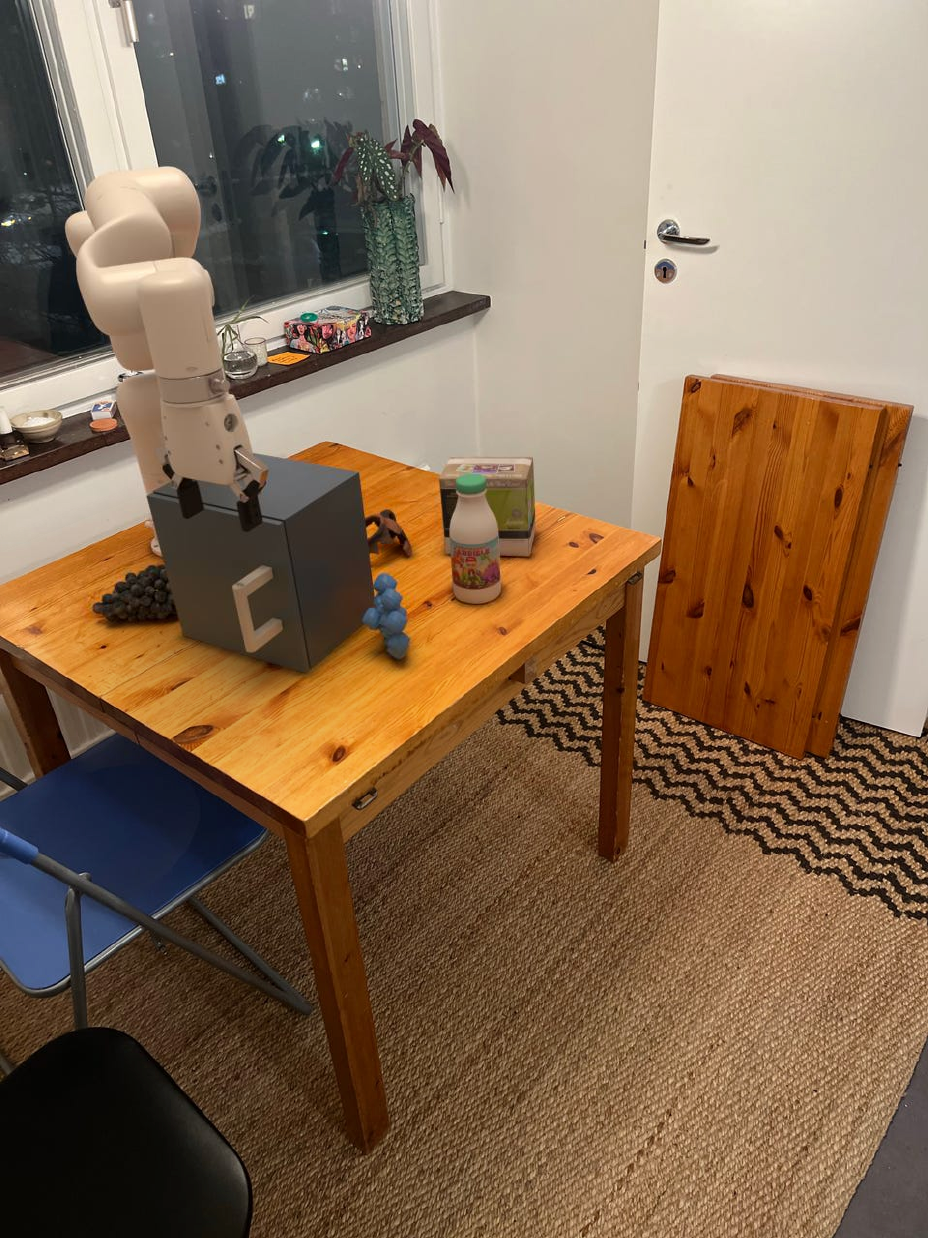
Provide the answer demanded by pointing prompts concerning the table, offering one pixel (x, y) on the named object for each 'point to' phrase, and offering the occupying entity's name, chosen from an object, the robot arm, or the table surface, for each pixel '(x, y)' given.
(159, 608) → the fruit
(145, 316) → the robot arm
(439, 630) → the table surface
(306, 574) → the cupboard
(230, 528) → the cupboard door
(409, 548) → the brown curved legged piece
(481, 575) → the milk bottle
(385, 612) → the grapes
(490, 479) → the tea box
